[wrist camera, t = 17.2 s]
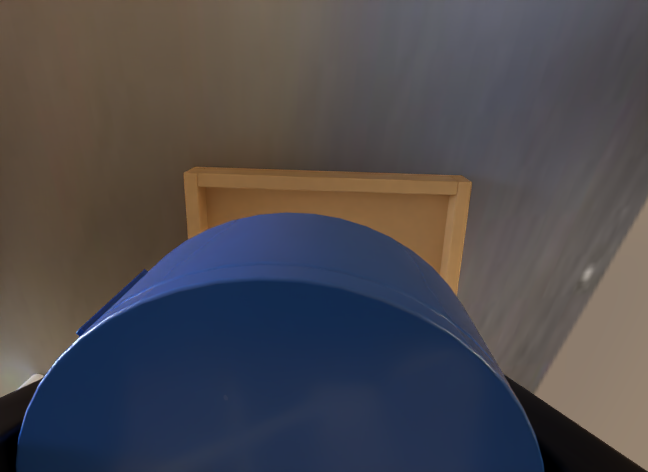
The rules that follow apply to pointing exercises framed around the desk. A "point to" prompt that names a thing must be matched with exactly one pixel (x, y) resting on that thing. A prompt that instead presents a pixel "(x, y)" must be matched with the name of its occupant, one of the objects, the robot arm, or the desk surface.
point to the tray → (342, 205)
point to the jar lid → (280, 365)
